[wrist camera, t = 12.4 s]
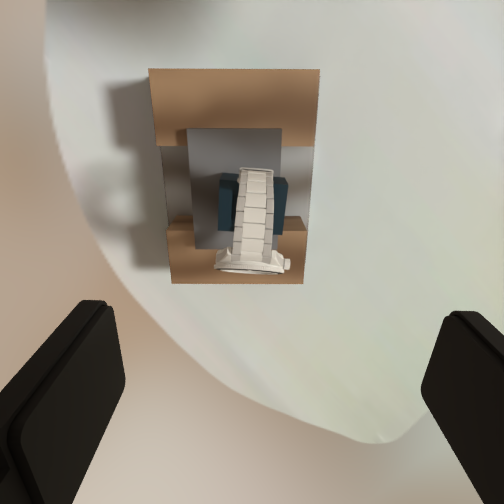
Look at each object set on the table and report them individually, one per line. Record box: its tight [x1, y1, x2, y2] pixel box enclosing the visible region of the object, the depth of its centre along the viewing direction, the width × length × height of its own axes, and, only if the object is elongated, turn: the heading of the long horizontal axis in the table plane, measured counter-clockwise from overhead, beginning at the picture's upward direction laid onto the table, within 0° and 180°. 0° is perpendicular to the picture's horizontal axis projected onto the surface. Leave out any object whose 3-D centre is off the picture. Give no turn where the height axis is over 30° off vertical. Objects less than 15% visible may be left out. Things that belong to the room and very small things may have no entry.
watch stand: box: [148, 69, 320, 284], centre depth 32 cm, size 20×16×7 cm
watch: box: [214, 167, 290, 275], centre depth 24 cm, size 6×8×11 cm
